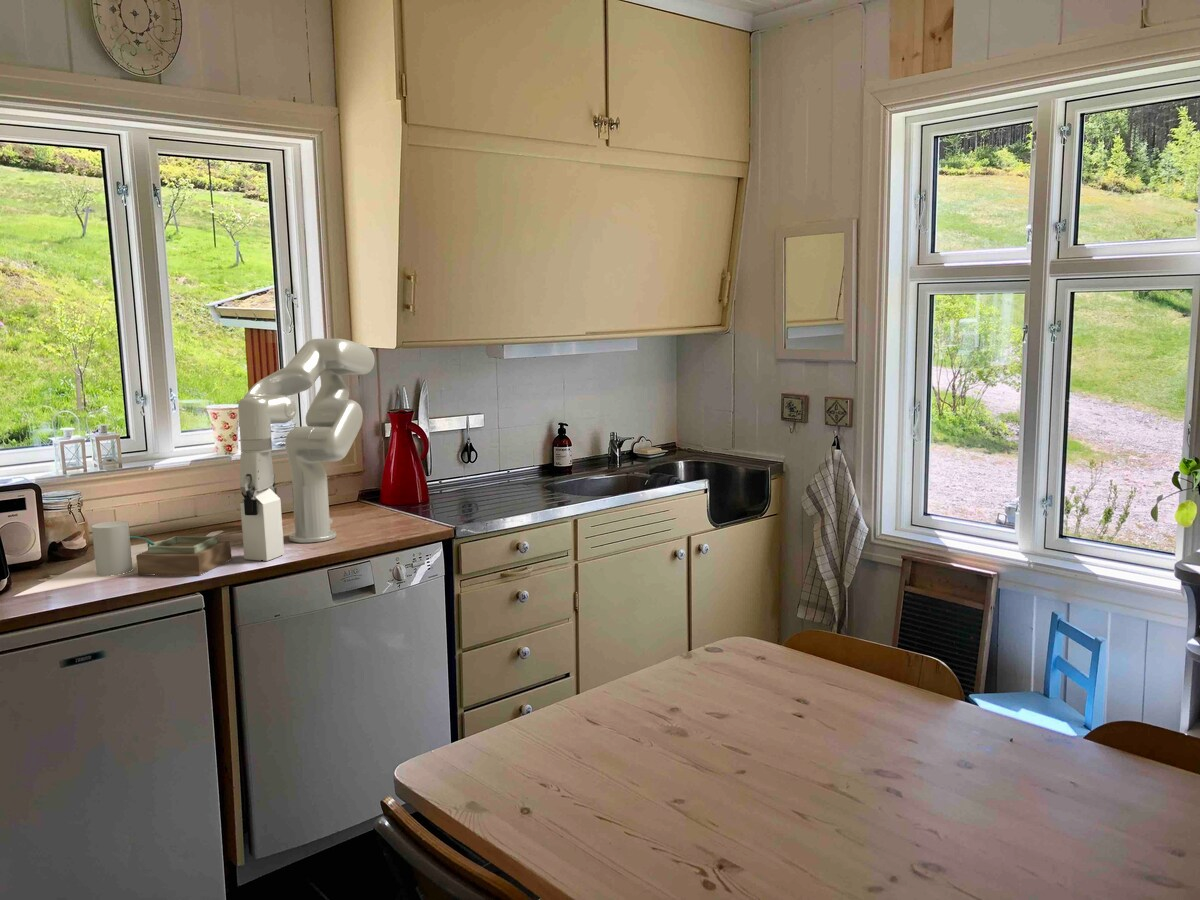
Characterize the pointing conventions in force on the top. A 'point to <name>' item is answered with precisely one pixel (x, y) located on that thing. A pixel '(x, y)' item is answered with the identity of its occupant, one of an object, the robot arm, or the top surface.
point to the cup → (112, 548)
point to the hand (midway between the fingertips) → (260, 511)
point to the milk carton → (263, 528)
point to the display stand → (184, 555)
